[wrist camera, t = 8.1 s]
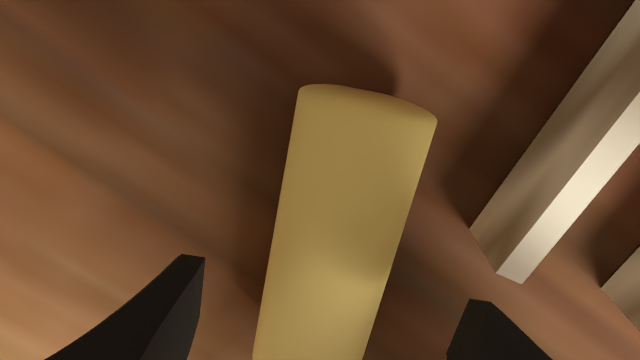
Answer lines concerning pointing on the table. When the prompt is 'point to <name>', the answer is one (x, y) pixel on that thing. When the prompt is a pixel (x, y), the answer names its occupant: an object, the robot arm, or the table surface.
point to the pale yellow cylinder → (339, 220)
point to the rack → (571, 168)
